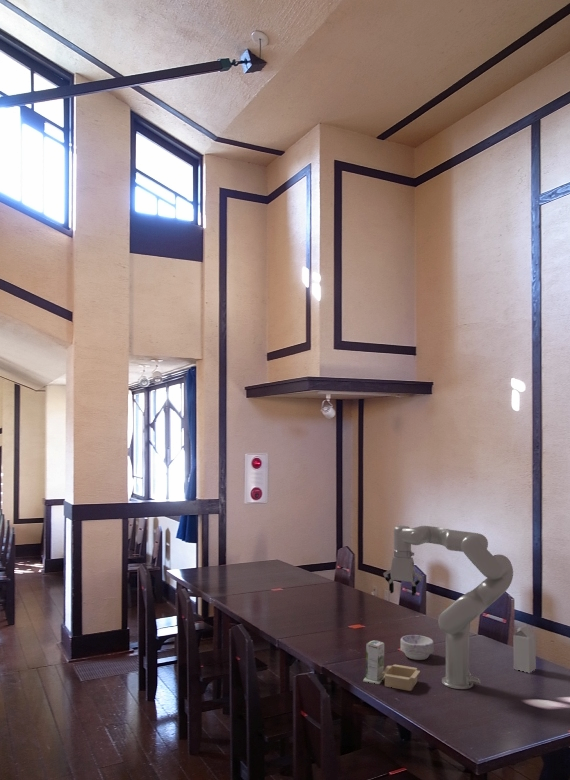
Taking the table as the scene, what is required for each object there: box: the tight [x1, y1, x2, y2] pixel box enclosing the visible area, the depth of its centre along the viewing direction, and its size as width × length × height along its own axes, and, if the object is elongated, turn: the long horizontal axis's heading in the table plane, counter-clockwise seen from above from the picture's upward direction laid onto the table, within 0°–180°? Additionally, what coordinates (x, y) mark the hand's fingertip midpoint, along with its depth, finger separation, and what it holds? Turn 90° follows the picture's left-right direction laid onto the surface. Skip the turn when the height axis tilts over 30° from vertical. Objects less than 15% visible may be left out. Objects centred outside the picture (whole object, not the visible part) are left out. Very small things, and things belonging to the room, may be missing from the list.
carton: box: [382, 664, 421, 692], centre depth 262 cm, size 14×15×5 cm
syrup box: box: [365, 640, 385, 681], centre depth 267 cm, size 6×6×14 cm
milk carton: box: [512, 624, 537, 674], centre depth 282 cm, size 7×7×19 cm
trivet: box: [362, 676, 385, 685], centre depth 267 cm, size 7×9×1 cm
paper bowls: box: [400, 634, 435, 661], centre depth 297 cm, size 15×15×8 cm
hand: (402, 593), depth 279 cm, fingers open, 9 cm apart
